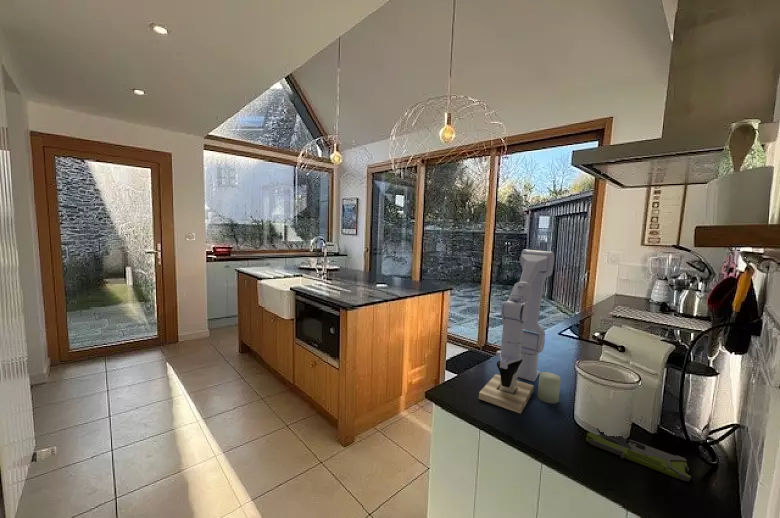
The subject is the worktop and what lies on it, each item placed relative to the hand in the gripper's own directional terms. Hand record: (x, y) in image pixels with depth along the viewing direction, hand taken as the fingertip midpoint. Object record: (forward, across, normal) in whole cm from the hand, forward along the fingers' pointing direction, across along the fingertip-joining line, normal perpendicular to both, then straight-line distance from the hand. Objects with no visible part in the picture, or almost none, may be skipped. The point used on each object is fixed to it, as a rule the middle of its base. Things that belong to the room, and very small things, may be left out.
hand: (507, 383), depth 100 cm
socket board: (+4, 0, 0) cm, 4 cm away
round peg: (+4, -6, +10) cm, 13 cm away
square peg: (+3, 0, 0) cm, 3 cm away
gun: (+4, +4, +31) cm, 32 cm away
